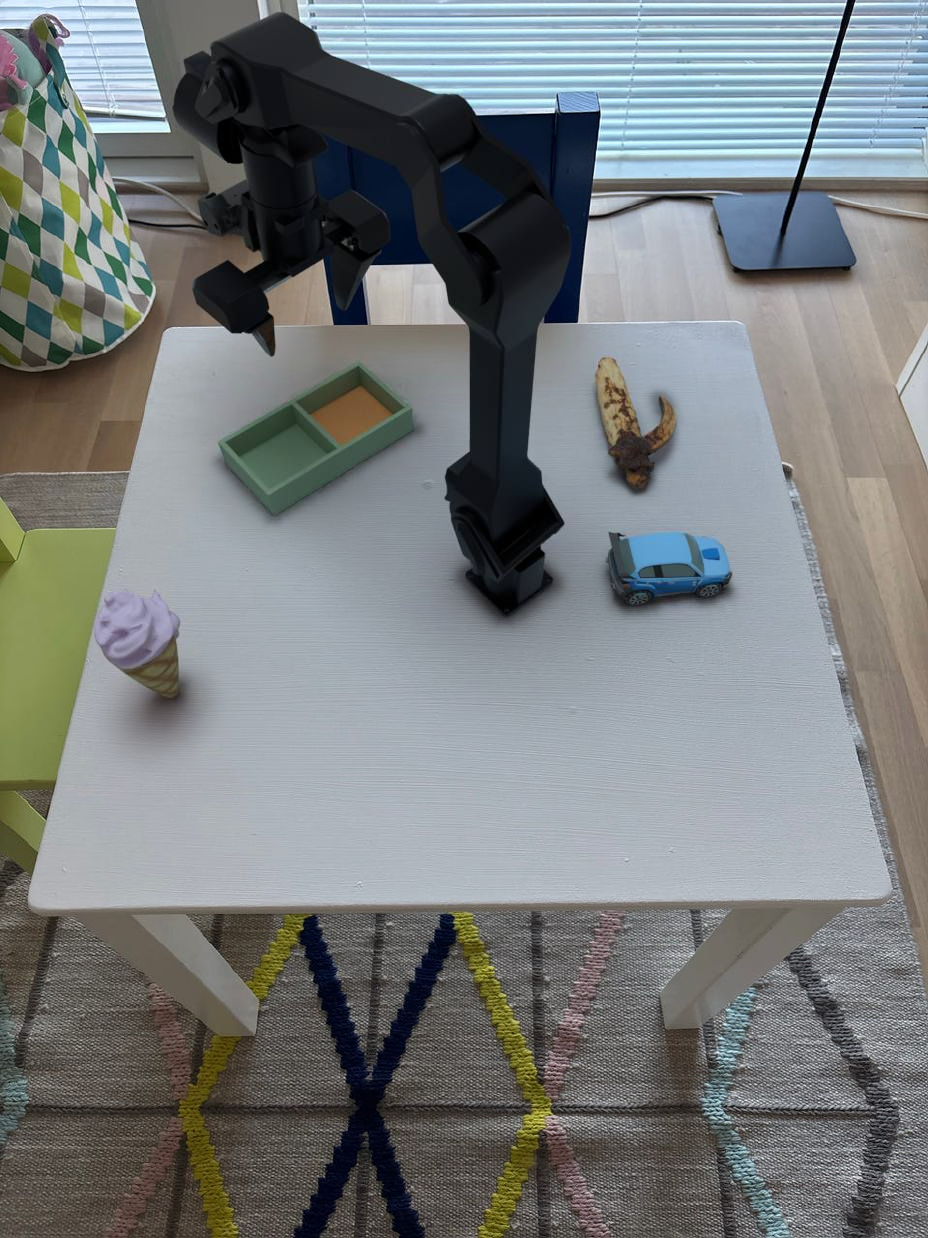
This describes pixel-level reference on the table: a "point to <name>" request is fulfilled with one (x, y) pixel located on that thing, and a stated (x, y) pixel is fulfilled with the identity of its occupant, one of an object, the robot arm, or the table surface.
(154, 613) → the ice cream cone
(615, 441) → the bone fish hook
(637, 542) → the toy car
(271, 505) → the divided tray
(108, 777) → the table surface
